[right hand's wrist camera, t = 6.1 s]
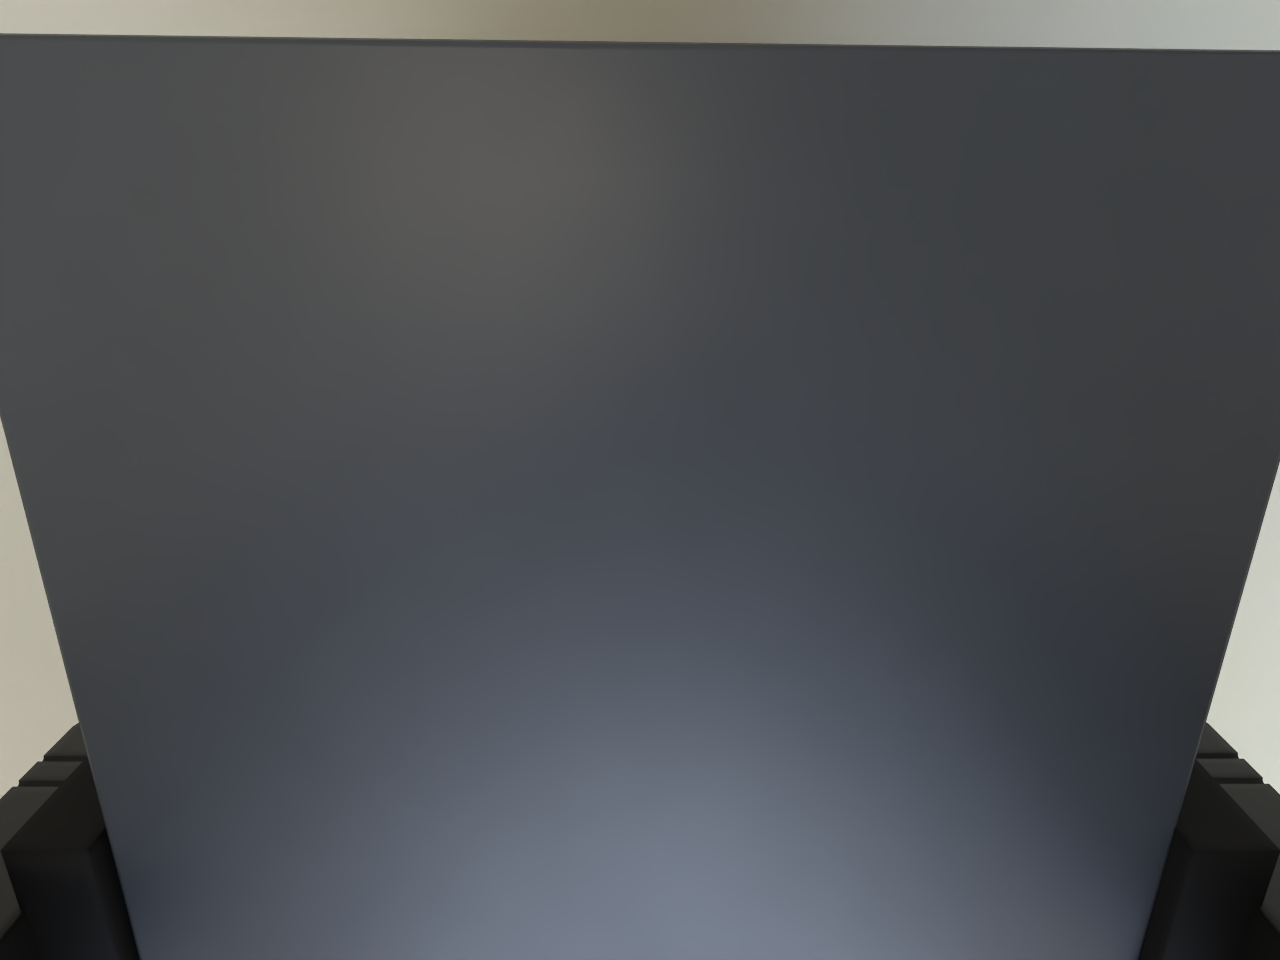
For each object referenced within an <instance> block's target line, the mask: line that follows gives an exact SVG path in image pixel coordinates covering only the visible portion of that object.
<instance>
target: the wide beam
mask: <svg viewBox="0 0 1280 960" xmlns="http://www.w3.org/2000/svg"><path fill="white" fill-rule="evenodd" d="M0 416H1V420H2V424H3V428H4V432H5V436H6V440H7V444H8V448H9V451H10V455H11V459H12V463H13V467H14V471H15V475H16V479H17V483H18V487H19V490H20V494H21V498H22V502H23V506H24V510H25V514H26V518H27V522H28V525H29V529H30V533H31V537H32V541H33V545H34V549H35V553H36V557H37V561H38V564H39V568H40V572H41V576H42V580H43V584H44V588H45V592H46V596H47V599H48V603H49V607H50V611H51V615H52V619H53V623H54V627H55V631H56V634H57V638H58V642H59V646H60V650H61V654H62V658H63V662H64V666H65V670H66V673H67V677H68V681H69V685H70V689H71V693H72V697H73V701H74V705H75V708H76V712H77V716H78V720H79V724H80V728H81V732H82V736H83V740H84V744H85V747H86V751H87V755H88V759H89V763H90V767H91V771H92V775H93V779H94V782H95V786H96V790H97V794H98V798H99V802H100V806H101V810H102V814H103V818H104V821H105V825H106V829H107V833H108V837H109V841H110V845H111V849H112V853H113V856H114V860H115V864H116V868H117V872H118V876H119V880H120V884H121V888H122V892H123V895H124V899H125V903H126V907H127V911H128V915H129V919H130V923H131V927H132V930H133V934H134V938H135V942H136V946H137V950H138V954H139V958H140V960H1138V959H1139V956H1140V952H1141V948H1142V945H1143V941H1144V938H1145V934H1146V931H1147V927H1148V924H1149V920H1150V917H1151V913H1152V910H1153V906H1154V903H1155V899H1156V896H1157V892H1158V889H1159V885H1160V881H1161V878H1162V874H1163V871H1164V867H1165V863H1166V860H1167V856H1168V852H1169V849H1170V845H1171V841H1172V838H1173V834H1174V831H1175V827H1176V825H1177V822H1178V818H1179V815H1180V811H1181V807H1182V804H1183V800H1184V797H1185V793H1186V790H1187V786H1188V783H1189V779H1190V776H1191V772H1192V769H1193V765H1194V762H1195V758H1196V755H1197V751H1198V748H1199V744H1200V741H1201V737H1202V733H1203V730H1204V726H1205V723H1206V719H1207V716H1208V712H1209V709H1210V705H1211V702H1212V698H1213V695H1214V691H1215V688H1216V684H1217V681H1218V677H1219V674H1220V670H1221V666H1222V663H1223V659H1224V656H1225V652H1226V649H1227V645H1228V642H1229V638H1230V635H1231V631H1232V628H1233V624H1234V621H1235V617H1236V614H1237V610H1238V607H1239V603H1240V600H1241V596H1242V592H1243V589H1244V585H1245V582H1246V578H1247V575H1248V571H1249V568H1250V564H1251V561H1252V557H1253V554H1254V550H1255V547H1256V543H1257V540H1258V536H1259V533H1260V529H1261V525H1262V522H1263V518H1264V515H1265V511H1266V508H1267V504H1268V501H1269V497H1270V494H1271V490H1272V487H1273V483H1274V480H1275V476H1276V473H1277V469H1278V466H1279V462H1280V50H1205V49H1130V48H1055V47H980V46H905V45H829V44H754V43H679V42H604V41H529V40H454V39H379V38H304V37H229V36H154V35H78V34H3V33H0Z"/></svg>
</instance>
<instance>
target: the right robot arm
mask: <svg viewBox="0 0 1280 960" xmlns="http://www.w3.org/2000/svg"><path fill="white" fill-rule="evenodd" d="M1262 779H1263V777H1262V776H1261V775H1259V774H1258V773H1257V772H1256V771H1255V770H1254V769H1253V768H1252V767H1251V766H1250V765H1249V764H1248V763H1247V762H1246V761H1245V760H1244V759H1239V758H1238V753H1237V752H1236V751H1235V750H1234V749H1233V748H1232V747H1231V746H1230V745H1229V744H1228V743H1227V742H1226V741H1225V740H1224V739H1223V738H1222V737H1221V736H1220V735H1219V734H1218V733H1217V732H1216V731H1215V730H1214V729H1213V728H1212V727H1211V726H1210V725H1209V724H1208V723H1205V726H1204V730H1203V733H1202V737H1201V741H1200V744H1199V748H1198V751H1197V755H1196V758H1195V762H1194V765H1193V769H1192V772H1191V776H1190V779H1189V783H1188V786H1187V790H1186V793H1185V797H1184V800H1183V804H1182V807H1181V811H1180V815H1179V818H1178V822H1177V825H1176V827H1175V831H1174V834H1173V838H1172V841H1171V845H1170V849H1169V852H1168V856H1167V860H1166V863H1165V867H1164V871H1163V874H1162V878H1161V881H1160V885H1159V889H1158V892H1157V896H1156V899H1155V903H1154V906H1153V910H1152V913H1151V917H1150V920H1149V924H1148V927H1147V931H1146V934H1145V938H1144V941H1143V945H1142V948H1141V952H1140V956H1139V959H1138V960H1280V794H1279V793H1278V792H1277V791H1276V790H1275V789H1274V788H1273V787H1272V786H1271V785H1270V784H1264V783H1263V780H1262ZM0 960H140V958H139V954H138V950H137V946H136V942H135V938H134V934H133V930H132V927H131V923H130V919H129V915H128V911H127V907H126V903H125V899H124V895H123V892H122V888H121V884H120V880H119V876H118V872H117V868H116V864H115V860H114V856H113V853H112V849H111V845H110V841H109V837H108V833H107V829H106V825H105V821H104V818H103V814H102V810H101V806H100V802H99V798H98V794H97V790H96V786H95V782H94V779H93V775H92V771H91V767H90V763H89V759H88V755H87V751H86V747H85V744H84V740H83V736H82V732H81V728H80V724H79V723H78V724H76V725H75V726H73V727H72V728H71V729H70V730H69V731H68V732H67V733H66V734H65V735H64V736H63V737H62V738H61V739H60V740H59V741H58V742H57V743H56V744H55V745H54V746H53V747H52V748H51V749H50V750H49V751H48V752H47V753H46V754H45V755H44V759H43V761H42V762H37V763H36V764H35V765H34V766H33V767H32V768H31V769H30V770H29V771H28V772H27V773H26V774H25V775H24V776H23V777H22V778H21V779H20V780H19V785H18V787H12V788H11V789H10V790H9V791H8V792H7V793H6V794H5V795H4V796H3V797H2V798H1V799H0Z"/></svg>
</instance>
